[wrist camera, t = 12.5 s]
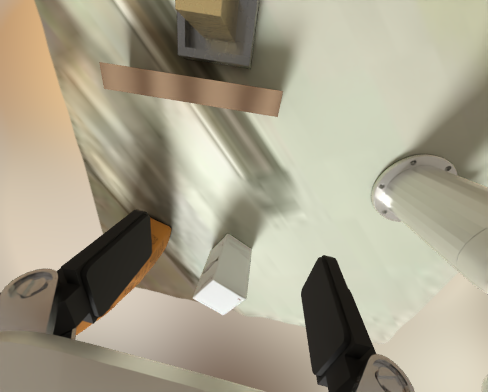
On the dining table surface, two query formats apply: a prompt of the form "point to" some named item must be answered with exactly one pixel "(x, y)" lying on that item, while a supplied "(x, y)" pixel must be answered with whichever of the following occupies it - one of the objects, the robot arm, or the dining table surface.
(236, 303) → the supplement box
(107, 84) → the brown plank
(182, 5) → the block
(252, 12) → the grey square tray
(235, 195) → the dining table surface
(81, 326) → the coffee package
